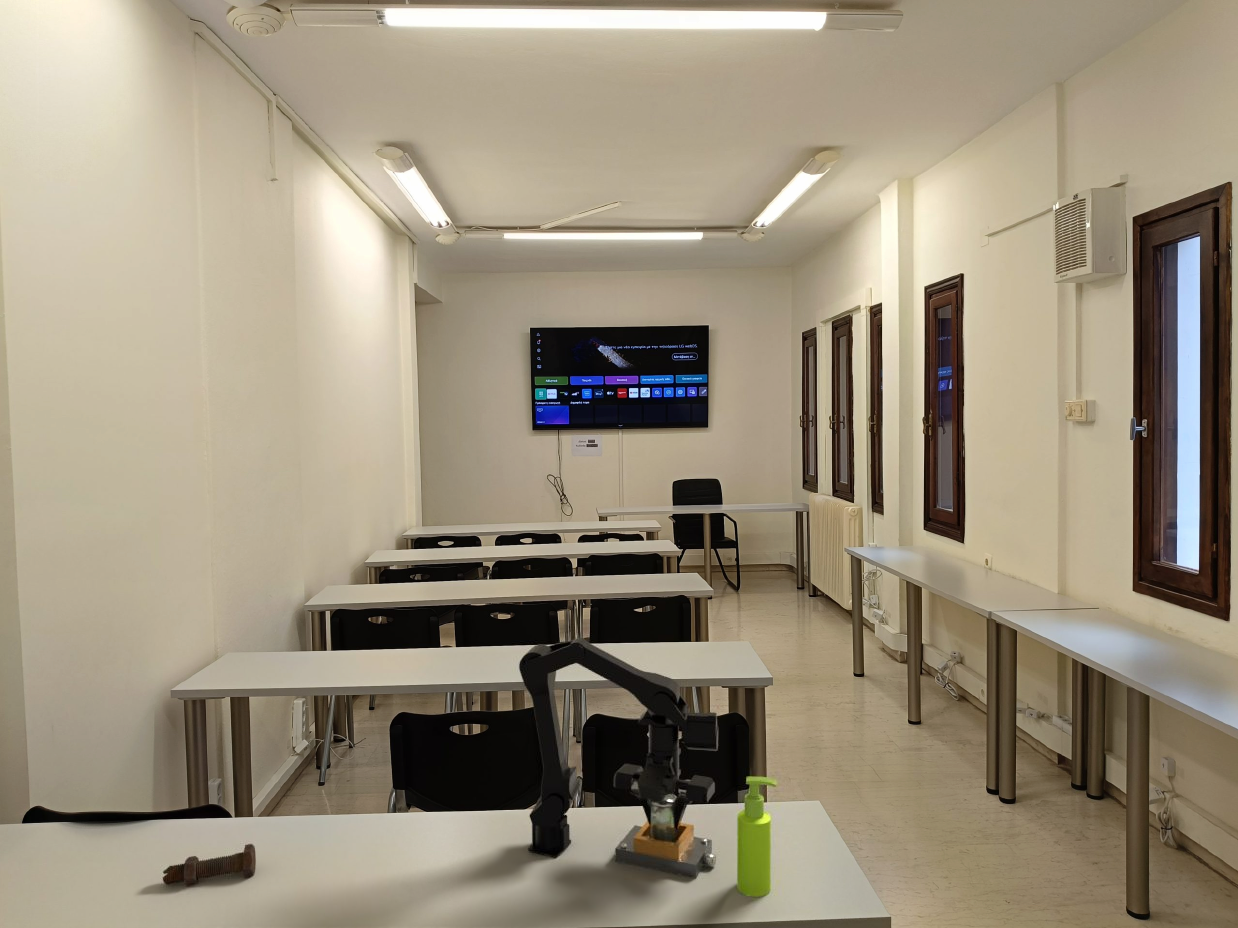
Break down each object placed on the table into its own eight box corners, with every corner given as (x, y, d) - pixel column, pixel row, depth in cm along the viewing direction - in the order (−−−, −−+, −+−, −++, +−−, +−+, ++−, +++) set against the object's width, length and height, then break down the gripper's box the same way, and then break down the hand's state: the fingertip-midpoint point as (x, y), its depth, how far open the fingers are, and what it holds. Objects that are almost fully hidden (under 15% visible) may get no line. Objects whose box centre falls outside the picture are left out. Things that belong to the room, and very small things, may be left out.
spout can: (641, 844, 158) (641, 808, 158) (655, 825, 166) (655, 790, 165) (667, 849, 156) (667, 812, 156) (681, 830, 164) (681, 795, 163)
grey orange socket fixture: (615, 860, 161) (615, 835, 161) (634, 837, 170) (634, 812, 170) (706, 880, 154) (706, 853, 154) (721, 854, 163) (721, 829, 163)
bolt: (166, 893, 154) (255, 877, 159) (160, 893, 150) (252, 876, 154) (168, 859, 157) (255, 843, 161) (161, 857, 152) (252, 842, 157)
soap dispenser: (776, 899, 148) (776, 786, 147) (736, 894, 149) (736, 783, 148) (776, 881, 154) (777, 773, 153) (738, 877, 155) (738, 770, 154)
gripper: (601, 754, 158) (602, 836, 159) (698, 769, 151) (697, 855, 151) (624, 733, 168) (624, 810, 169) (715, 747, 161) (715, 828, 162)
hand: (663, 826), depth 162 cm, fingers closed on spout can, 5 cm apart
